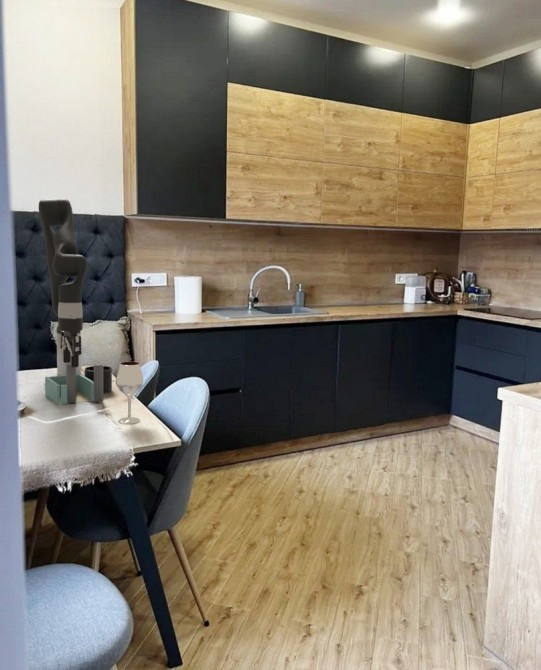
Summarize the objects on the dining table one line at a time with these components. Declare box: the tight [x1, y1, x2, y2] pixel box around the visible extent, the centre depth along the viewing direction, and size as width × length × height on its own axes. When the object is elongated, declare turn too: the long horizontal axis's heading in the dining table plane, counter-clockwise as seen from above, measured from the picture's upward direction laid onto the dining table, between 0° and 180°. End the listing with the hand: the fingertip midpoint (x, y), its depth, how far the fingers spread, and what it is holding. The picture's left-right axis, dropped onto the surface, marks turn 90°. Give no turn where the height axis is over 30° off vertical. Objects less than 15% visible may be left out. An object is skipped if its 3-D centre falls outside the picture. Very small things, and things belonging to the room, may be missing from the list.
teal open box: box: [44, 373, 93, 406], centre depth 191 cm, size 14×12×7 cm
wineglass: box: [115, 361, 144, 425], centre depth 169 cm, size 8×8×18 cm
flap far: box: [90, 363, 104, 404], centre depth 186 cm, size 3×5×13 cm, turn 57°
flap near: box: [60, 364, 77, 405], centre depth 183 cm, size 3×5×13 cm, turn 127°
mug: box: [84, 365, 113, 395], centre depth 202 cm, size 9×12×9 cm
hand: (70, 364), depth 183 cm, fingers open, 8 cm apart
